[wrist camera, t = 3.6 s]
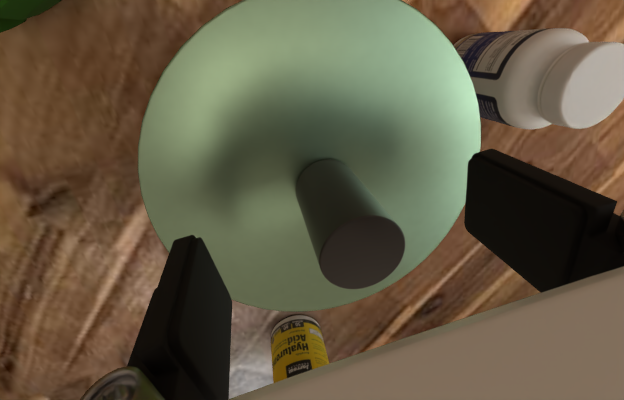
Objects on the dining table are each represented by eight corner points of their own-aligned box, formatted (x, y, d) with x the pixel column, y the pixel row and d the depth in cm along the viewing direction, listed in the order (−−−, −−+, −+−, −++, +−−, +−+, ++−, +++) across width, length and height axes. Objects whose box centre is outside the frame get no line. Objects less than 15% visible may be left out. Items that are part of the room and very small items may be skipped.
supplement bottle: (302, 304, 31) (324, 405, 22) (328, 331, 33) (357, 429, 25) (259, 331, 31) (264, 439, 23) (288, 355, 34) (302, 460, 25)
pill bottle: (494, 101, 24) (627, 131, 16) (433, 115, 24) (536, 153, 15) (504, 26, 22) (669, 14, 13) (436, 40, 21) (562, 36, 13)
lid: (473, -54, 11) (678, -143, 6) (459, 253, 19) (545, 336, 14) (64, 39, 10) (-135, 33, 5) (221, 327, 18) (210, 449, 12)
